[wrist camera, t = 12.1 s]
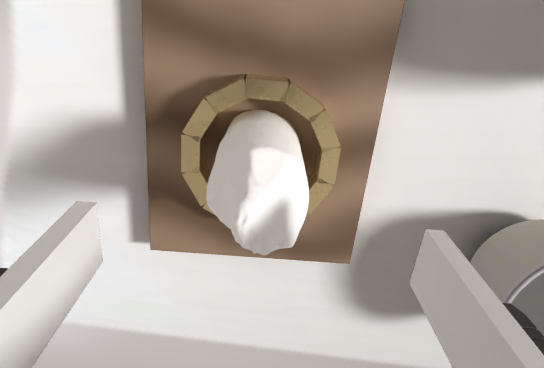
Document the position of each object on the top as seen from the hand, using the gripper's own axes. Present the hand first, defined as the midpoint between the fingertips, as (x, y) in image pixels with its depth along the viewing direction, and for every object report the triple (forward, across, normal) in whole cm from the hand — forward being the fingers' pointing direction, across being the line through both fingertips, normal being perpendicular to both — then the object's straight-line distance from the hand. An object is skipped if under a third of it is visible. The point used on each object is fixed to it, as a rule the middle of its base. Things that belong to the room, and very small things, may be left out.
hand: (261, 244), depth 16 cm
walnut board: (+14, 0, 0) cm, 14 cm away
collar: (+13, 0, 0) cm, 13 cm away
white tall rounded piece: (+13, 0, 0) cm, 13 cm away
